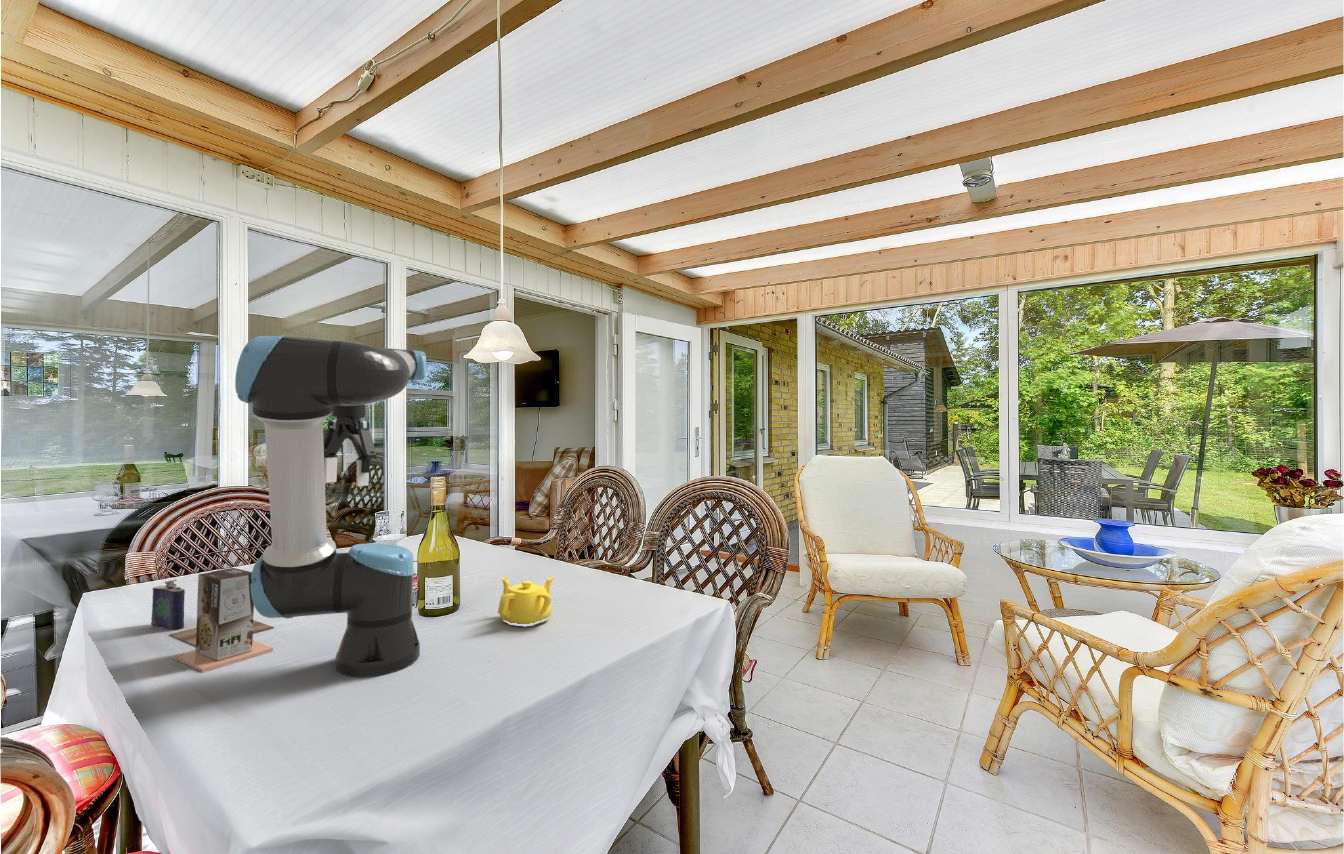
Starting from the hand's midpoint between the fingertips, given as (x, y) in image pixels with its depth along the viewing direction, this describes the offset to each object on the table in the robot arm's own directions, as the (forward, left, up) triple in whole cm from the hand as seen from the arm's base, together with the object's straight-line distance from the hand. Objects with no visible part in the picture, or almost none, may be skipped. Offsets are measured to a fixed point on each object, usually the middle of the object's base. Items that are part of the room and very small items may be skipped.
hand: (346, 484), depth 139 cm
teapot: (-44, -20, -33) cm, 59 cm away
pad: (-7, +28, -33) cm, 44 cm away
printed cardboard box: (-7, +28, -32) cm, 43 cm away
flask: (+22, +27, -33) cm, 48 cm away
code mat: (+8, +22, -33) cm, 40 cm away
